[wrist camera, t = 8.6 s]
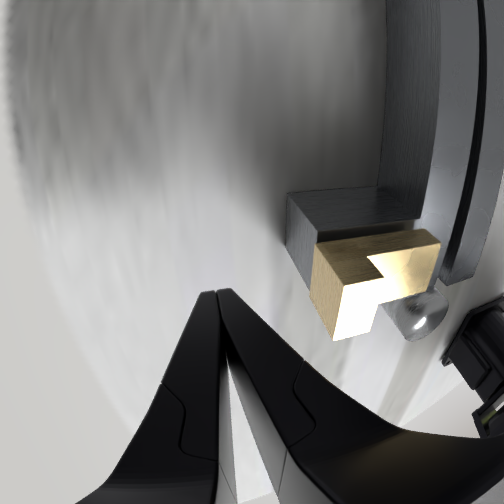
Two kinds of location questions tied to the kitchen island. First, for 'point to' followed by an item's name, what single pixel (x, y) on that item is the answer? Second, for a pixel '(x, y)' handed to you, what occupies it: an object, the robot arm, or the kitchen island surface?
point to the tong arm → (468, 183)
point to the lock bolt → (368, 276)
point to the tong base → (407, 137)
